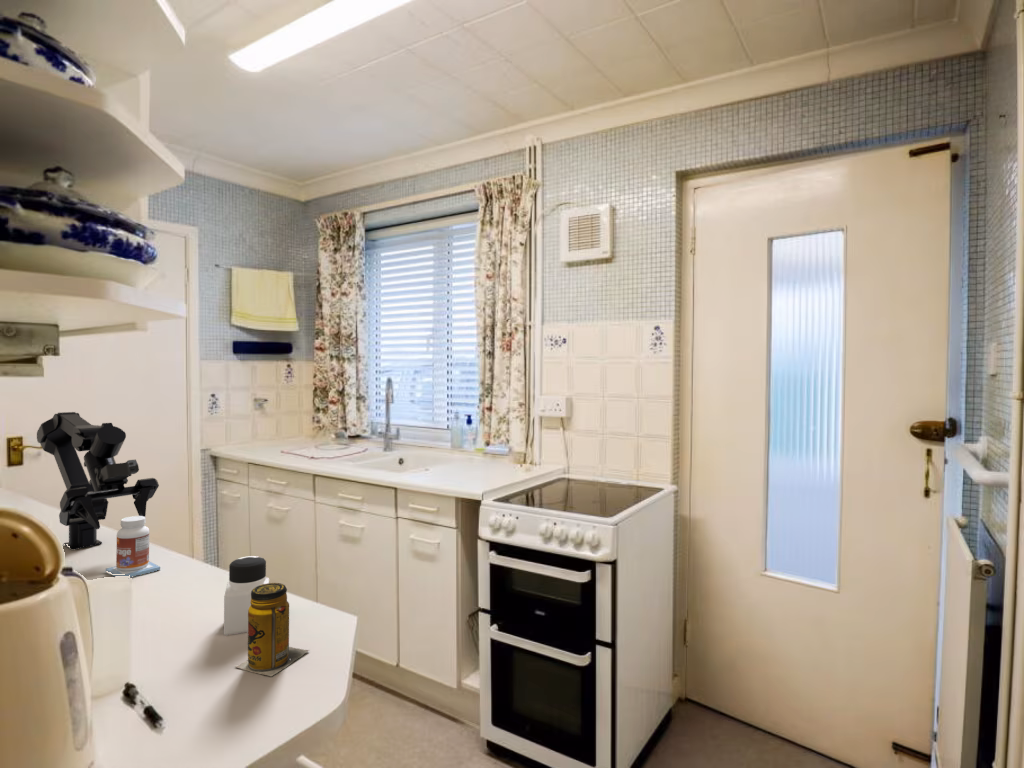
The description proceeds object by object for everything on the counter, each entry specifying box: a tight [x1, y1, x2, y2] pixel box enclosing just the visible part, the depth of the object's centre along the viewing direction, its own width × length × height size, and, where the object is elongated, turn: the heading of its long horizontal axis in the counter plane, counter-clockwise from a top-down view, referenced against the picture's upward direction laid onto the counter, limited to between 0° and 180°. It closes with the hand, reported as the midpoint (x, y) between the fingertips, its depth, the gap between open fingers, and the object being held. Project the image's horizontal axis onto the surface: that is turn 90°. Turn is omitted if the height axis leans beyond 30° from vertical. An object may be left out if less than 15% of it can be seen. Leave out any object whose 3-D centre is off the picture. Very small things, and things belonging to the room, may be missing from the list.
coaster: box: [105, 560, 161, 578], centre depth 127 cm, size 8×8×1 cm
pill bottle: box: [115, 515, 150, 571], centre depth 127 cm, size 6×6×11 cm
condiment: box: [234, 582, 310, 677], centre depth 90 cm, size 7×8×12 cm
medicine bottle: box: [223, 555, 270, 636], centre depth 102 cm, size 7×7×12 cm
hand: (121, 523), depth 130 cm, fingers open, 9 cm apart
